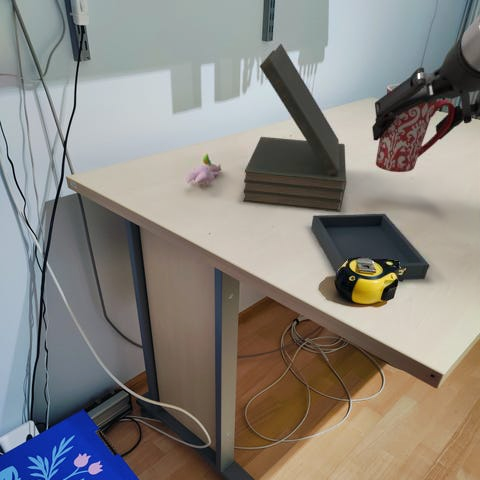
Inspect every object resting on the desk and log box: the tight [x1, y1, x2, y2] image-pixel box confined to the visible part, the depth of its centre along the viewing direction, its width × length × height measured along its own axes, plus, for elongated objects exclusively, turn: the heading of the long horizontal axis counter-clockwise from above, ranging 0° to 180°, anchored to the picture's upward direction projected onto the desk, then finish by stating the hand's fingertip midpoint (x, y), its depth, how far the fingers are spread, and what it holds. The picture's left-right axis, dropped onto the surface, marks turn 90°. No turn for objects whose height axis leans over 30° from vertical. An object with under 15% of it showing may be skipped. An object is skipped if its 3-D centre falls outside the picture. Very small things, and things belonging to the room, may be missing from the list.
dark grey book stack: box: [242, 43, 347, 213], centre depth 85 cm, size 23×20×25 cm
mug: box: [375, 83, 456, 173], centre depth 78 cm, size 13×9×14 cm
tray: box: [310, 213, 431, 281], centre depth 71 cm, size 14×18×3 cm
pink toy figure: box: [185, 153, 223, 186], centre depth 91 cm, size 6×6×15 cm
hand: (406, 133), depth 80 cm, fingers closed on mug, 12 cm apart
